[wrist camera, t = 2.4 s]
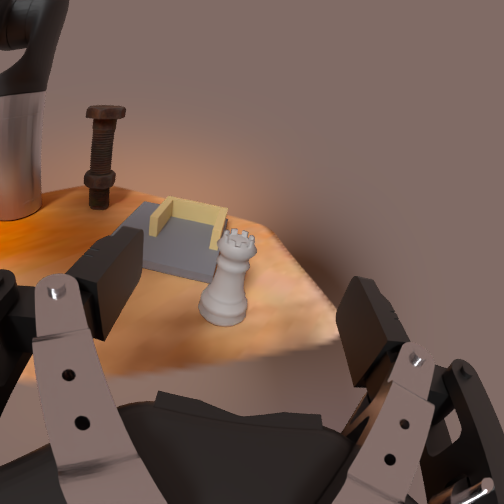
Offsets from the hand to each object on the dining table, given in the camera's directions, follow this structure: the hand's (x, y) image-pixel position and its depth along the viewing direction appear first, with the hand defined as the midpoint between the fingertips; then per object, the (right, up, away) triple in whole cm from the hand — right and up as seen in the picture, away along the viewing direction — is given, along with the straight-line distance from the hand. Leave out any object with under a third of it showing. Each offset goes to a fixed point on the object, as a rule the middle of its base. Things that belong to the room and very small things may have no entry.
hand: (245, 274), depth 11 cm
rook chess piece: (-3, -5, +16) cm, 17 cm away
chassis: (-10, +3, +25) cm, 27 cm away
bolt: (-23, +7, +28) cm, 37 cm away
